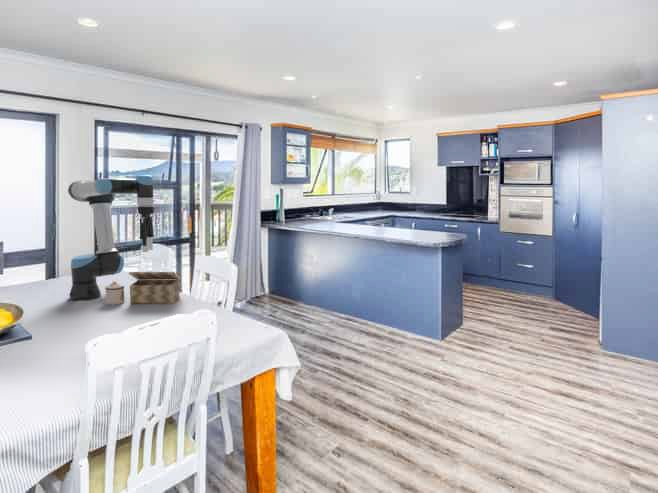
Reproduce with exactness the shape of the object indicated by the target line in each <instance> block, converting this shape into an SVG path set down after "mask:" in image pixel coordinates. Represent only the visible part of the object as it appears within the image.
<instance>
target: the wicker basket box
mask: <svg viewBox="0 0 658 493" xmlns="http://www.w3.org/2000/svg"><path fill="white" fill-rule="evenodd" d="M179 298H180V279H159V280H137V279H136V281H135V282H132V283H131V284H130V285H129V299H130V305H149V304H151V305H157V304H160V305H161V303H162V305H163V304H164V303H165V305H167V304H169V305H170V303H171V304H175V303H176V302H177V300H179Z"/></svg>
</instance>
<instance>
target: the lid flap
mask: <svg viewBox="0 0 658 493" xmlns="http://www.w3.org/2000/svg"><path fill="white" fill-rule="evenodd" d="M128 275H130V276H132V277H133V278H134V279H135V280H136V281H137V280H181V277H180V276H179V275H178V274H177V273H176V271H128Z"/></svg>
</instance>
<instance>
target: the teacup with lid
mask: <svg viewBox="0 0 658 493" xmlns="http://www.w3.org/2000/svg"><path fill="white" fill-rule="evenodd" d="M104 289H105V297H106V304H107V305H108V306H109V305H111V306H113V305H114V306H115V305H116V306H117V305H121V304H124V303H125V285H124V284H121V283H119V282H117V281H116V280H114V281H112V282H111V283H110V284H108V285H106V286H105V287H104Z"/></svg>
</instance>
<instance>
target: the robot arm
mask: <svg viewBox="0 0 658 493" xmlns="http://www.w3.org/2000/svg"><path fill="white" fill-rule="evenodd" d="M67 189H68V190H67V192H68V195H69V197H70V198H72V199H73V200H76V201H78V202H84V203H88V205H89V207H91V208H92V211H93V212H92V213H93V220H94V226H95V227H94V228H95V234H96V242H97V251H96V252H95V254H92V253H88V254H87V253H86V254H81V255H77V256H74V257H73V258H71V260H70V269H71V282H72V283H71V289H70V292H69V294H68V295H69V300H72V301H88V300H93V299H94V300H95V299H98V298H100V297H102V294H101V289H100V287H99V285H98V282H97V278H99V277H100V278H101V277H105V276H114V275H117V274H120V273H121V272H122V271H123V269H124V266H125V259H124V256H123V254H121V253H119V250H118V249H117V248H116V246H115V238H114V231H113V223H112V222H113V221H112V215H111V206H112V205H113V202H114V201H115V200H116V195H136V202H137V214H139V215H141V218H139V240H141V252H142V253H149V251H153V250H154V246H153V238H154V237H155V235H154V234H155V233H154V224H153V221H154V220H153V219H154V217H153V216H152V215H153V214H154V213H155V207H154V205H155V204H154V202H155V199H154V181H153V176H152V175H147V174H143V175H142V174H138V175H136V179H135V178H107V177H103V178H102V177H101V178H97V179H96V180H77V181H76V180H75V181H74V182H71V184H69V186H68V188H67Z"/></svg>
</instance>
